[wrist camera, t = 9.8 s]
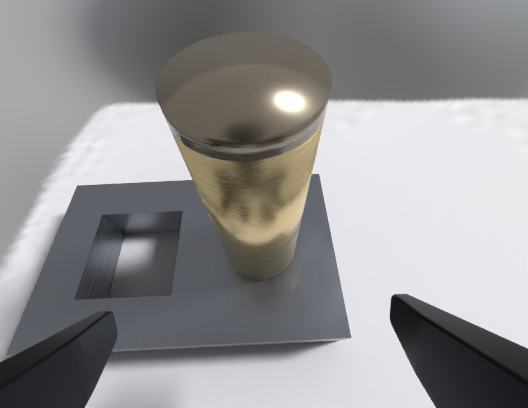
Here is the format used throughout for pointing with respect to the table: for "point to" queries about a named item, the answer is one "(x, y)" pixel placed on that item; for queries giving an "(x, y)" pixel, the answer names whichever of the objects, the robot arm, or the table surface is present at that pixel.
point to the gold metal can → (248, 138)
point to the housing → (183, 276)
